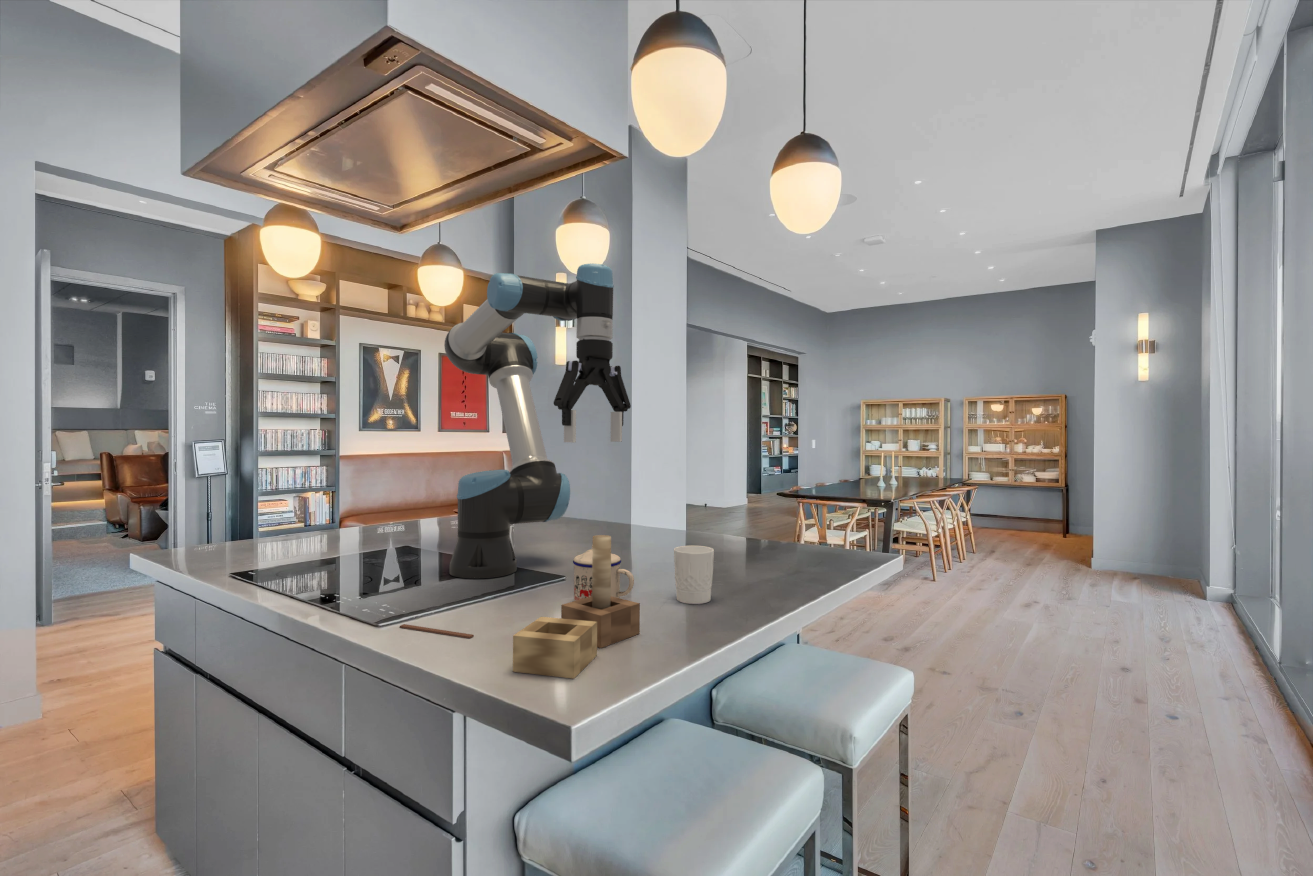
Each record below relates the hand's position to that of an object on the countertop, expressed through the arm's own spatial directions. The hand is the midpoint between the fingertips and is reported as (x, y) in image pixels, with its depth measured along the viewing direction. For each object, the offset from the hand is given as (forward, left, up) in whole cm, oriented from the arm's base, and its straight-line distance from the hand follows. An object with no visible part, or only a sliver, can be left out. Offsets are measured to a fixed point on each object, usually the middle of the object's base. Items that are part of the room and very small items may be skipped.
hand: (593, 442), depth 131 cm
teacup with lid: (+11, -8, -31) cm, 34 cm away
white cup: (+21, +7, -31) cm, 38 cm away
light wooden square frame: (+26, -33, -31) cm, 52 cm away
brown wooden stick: (+1, -37, -31) cm, 48 cm away
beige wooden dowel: (+22, -20, -31) cm, 43 cm away
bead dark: (+22, -20, -31) cm, 43 cm away
